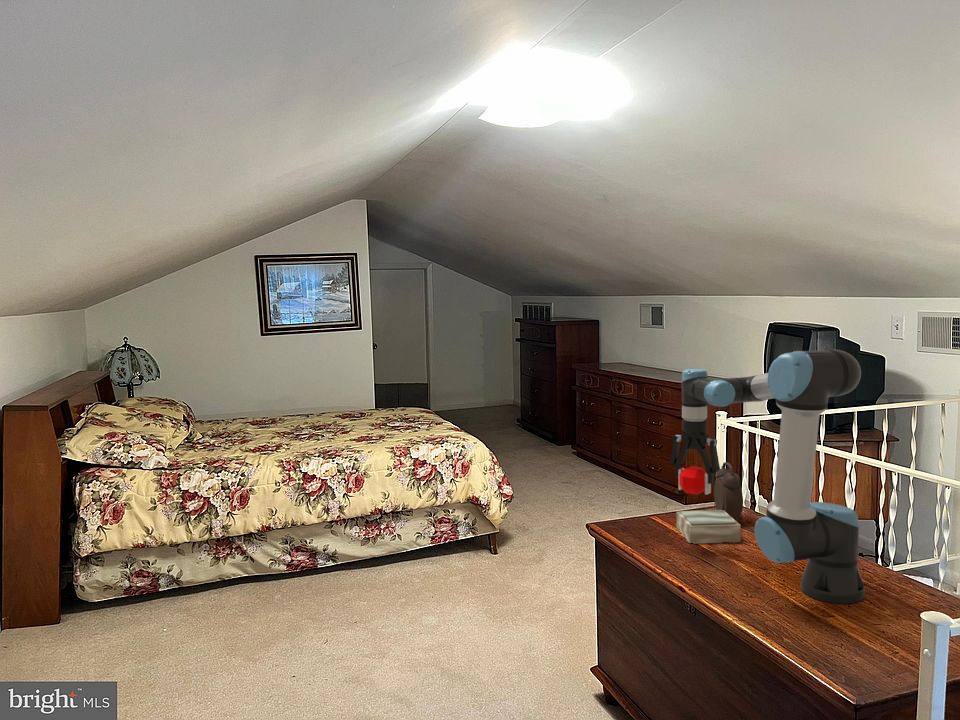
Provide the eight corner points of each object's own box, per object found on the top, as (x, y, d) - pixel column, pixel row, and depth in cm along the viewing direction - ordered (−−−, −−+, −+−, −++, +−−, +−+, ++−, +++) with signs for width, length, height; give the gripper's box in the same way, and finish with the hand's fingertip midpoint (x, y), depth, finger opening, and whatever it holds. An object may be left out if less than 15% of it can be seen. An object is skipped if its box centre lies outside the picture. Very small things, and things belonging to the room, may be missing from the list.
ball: (712, 491, 230) (712, 467, 229) (700, 497, 224) (700, 472, 223) (688, 487, 235) (688, 464, 235) (676, 493, 229) (676, 469, 229)
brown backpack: (746, 526, 249) (746, 467, 247) (724, 526, 249) (724, 468, 248) (732, 513, 264) (732, 458, 262) (712, 513, 264) (712, 458, 262)
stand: (740, 542, 234) (740, 523, 233) (689, 543, 234) (689, 525, 233) (723, 526, 250) (723, 508, 249) (676, 527, 250) (676, 510, 249)
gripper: (732, 420, 224) (732, 494, 226) (669, 414, 237) (669, 483, 240) (722, 424, 218) (721, 499, 220) (657, 417, 232) (658, 488, 234)
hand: (694, 491), depth 230 cm, fingers closed on ball, 8 cm apart
